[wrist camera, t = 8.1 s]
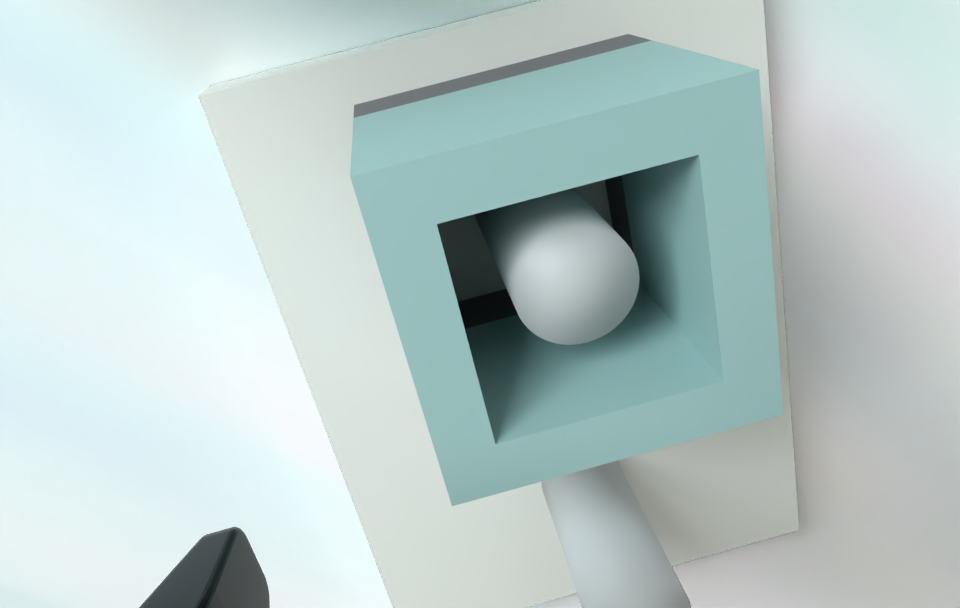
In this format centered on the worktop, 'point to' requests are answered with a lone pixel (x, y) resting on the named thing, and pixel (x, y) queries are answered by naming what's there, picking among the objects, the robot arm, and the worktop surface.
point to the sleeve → (635, 217)
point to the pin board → (366, 342)
